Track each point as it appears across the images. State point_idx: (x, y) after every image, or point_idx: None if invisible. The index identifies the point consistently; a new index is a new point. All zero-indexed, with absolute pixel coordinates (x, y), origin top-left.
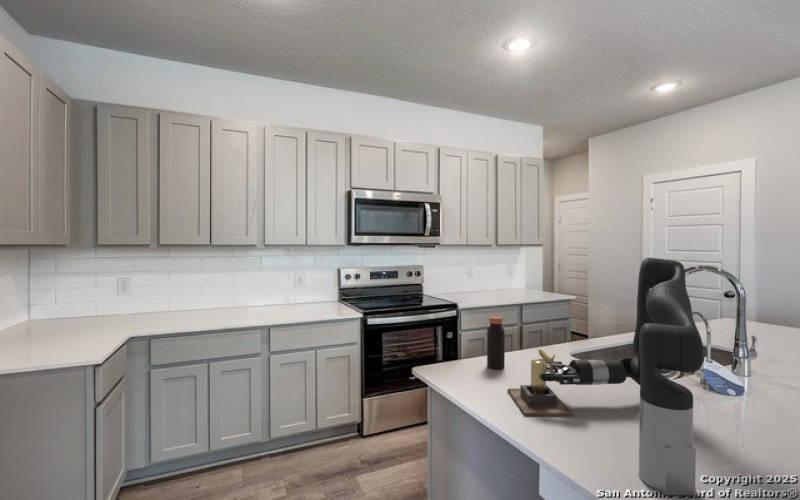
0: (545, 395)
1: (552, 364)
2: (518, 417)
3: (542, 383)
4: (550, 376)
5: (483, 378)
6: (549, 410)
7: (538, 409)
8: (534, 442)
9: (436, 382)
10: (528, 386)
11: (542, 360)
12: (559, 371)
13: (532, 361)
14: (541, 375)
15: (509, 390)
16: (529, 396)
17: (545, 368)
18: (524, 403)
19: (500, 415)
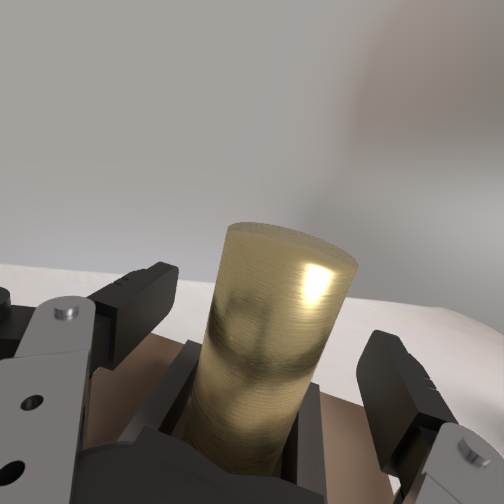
0: (143, 409)
1: (417, 497)
2: None
3: (197, 370)
4: (109, 288)
5: (489, 411)
6: None
7: (126, 385)
8: (14, 277)
9: (385, 303)
10: (299, 410)
11: (329, 270)
12: (70, 354)
13: (298, 233)
14: (174, 276)
15: (346, 401)
16: (186, 344)
17: (226, 292)
18: None
19: (183, 301)
